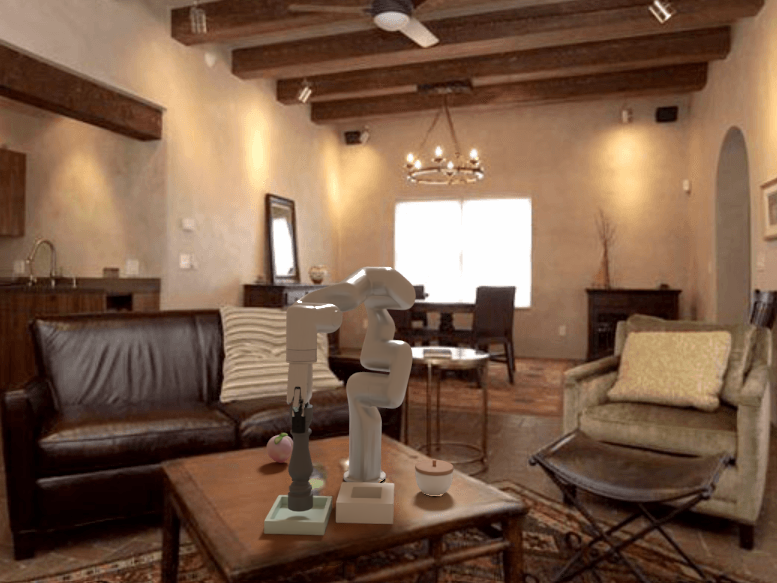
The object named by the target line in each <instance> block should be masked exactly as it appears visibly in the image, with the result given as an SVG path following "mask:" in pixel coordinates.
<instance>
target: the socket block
mask: <svg viewBox="0 0 777 583" xmlns="http://www.w3.org/2000/svg"><path fill="white" fill-rule="evenodd" d="M394 509H395V483H393V482H382V483H364V482H346V481H341V485H340V488H339V491H338V494H337V498H336V502H335V523H337V524H341V523H342V524H343V523H344V524H373V525H374V524H378V525H380V524H381V525H393V524H394Z"/></svg>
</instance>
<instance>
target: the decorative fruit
mask: <svg viewBox="0 0 777 583" xmlns="http://www.w3.org/2000/svg"><path fill="white" fill-rule="evenodd" d="M292 450H293V438H291V437H290V436H289V434H288V433H286V432H280V433H279V434H277V435H275V436H272V437H271V438H270V439H269V440H268V442H267V444H266V453H267V455H268V457H269V458H270V459H271V460H272V461H275V462H277V463H279V464H282V463H284V462H286V461H287V460H288V459H290V458H291V454H292Z"/></svg>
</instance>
